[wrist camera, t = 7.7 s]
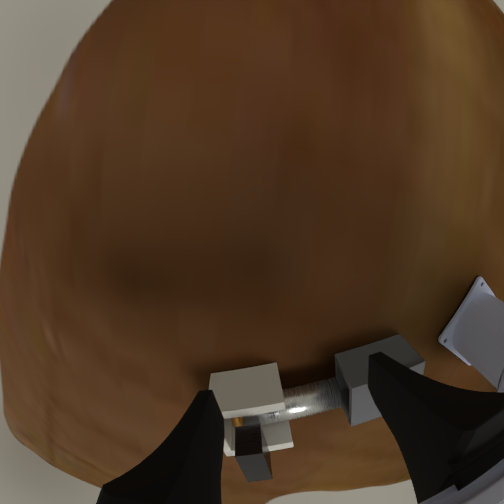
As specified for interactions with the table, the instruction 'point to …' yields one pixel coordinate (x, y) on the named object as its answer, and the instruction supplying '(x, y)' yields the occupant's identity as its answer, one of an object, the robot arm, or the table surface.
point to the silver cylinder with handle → (296, 406)
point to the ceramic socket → (251, 402)
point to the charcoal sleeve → (356, 374)
